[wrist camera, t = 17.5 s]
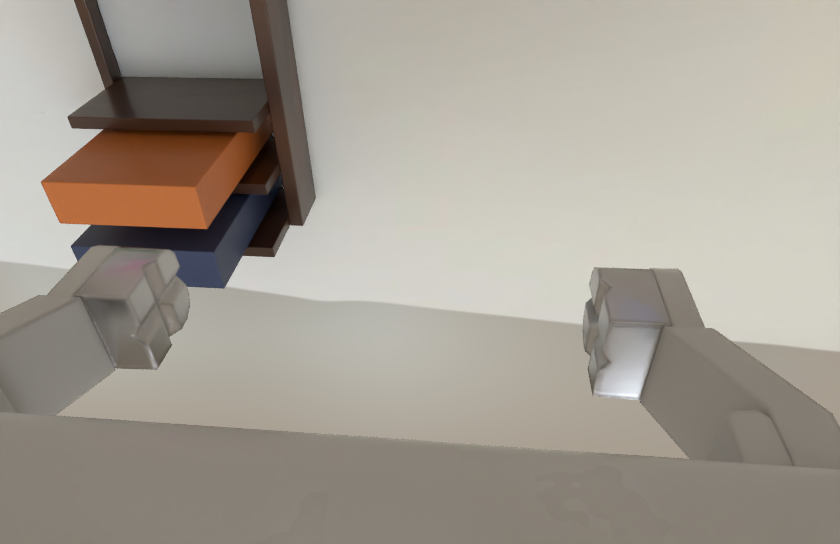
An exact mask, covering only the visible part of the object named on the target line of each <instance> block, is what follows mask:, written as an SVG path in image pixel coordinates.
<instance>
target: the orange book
mask: <svg viewBox="0 0 840 544" xmlns="http://www.w3.org/2000/svg"><path fill="white" fill-rule="evenodd" d="M272 133H273V129H272V124H271V118H270V113H269V114H268V116H267V117H266V118H265V120H264V121H263V122H262V124H261V125H260V127H259V128H258V129H257V131H256V132H255V133H242V132H202V131H161V130H121V129H104V130H103V131H101V132H100V133H99V134H98V135H97V136H95V137H94V138H93V139H92V140H91V141H89V142H88V143H87V144H86V145H85V146H83V147H82V148H81V149H80V150H79V151H77V152H76V153H75V154H74V155H73V156H71V157H70V158H69V159H68V160H67V161H65V162H64V163H63V164H62V165H61V166H59V167H58V168H57V169H56V170H54V171H53V172H52V173H51V174H50V175H48V176H47V177H46V178H45V179H44V180H42V181H41V184H42V186H43V188H44V190H45V192H46V194H47V196H48V199H49V201H50V203H51V205H52V207H53V209H54V211H55V214H56V216H57V218H58V220H59V222H60V223H65V224H90V225H115V226H140V227H165V228H190V229H208V227H209V226H210V224H211V223H212V221H213V220H214V218H215V217H216V215H217V214H218V212H219V211H220V209H221V208H222V206H223V205H224V203H225V202H226V201H227V199H228V198H229V196H230V195H231V193H232V192H233V190H234V189H235V187H236V186H237V184H238V183H239V181H240V180H241V178H242V177H243V175H244V174H245V173H246V171H247V170H248V168H249V167H250V165H251V164H252V162H253V161H254V159H255V158H256V156H257V155H258V153H259V152H260V150H261V149H262V147H263V146H264V145H265V143H266V142H267V140H268V139H269V137H270V136H271V134H272Z"/></svg>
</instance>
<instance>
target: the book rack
mask: <svg viewBox="0 0 840 544" xmlns="http://www.w3.org/2000/svg"><path fill="white" fill-rule="evenodd" d="M74 2H75V4H76V7H77V10H78V13H79V16H80V19H81V21H82V24H83V27H84V30H85V33H86V36H87V38H88V41H89V44H90V47H91V50H92V53H93V55H94V58H95V61H96V64H97V67H98V70H99V72H100V75H101V78H102V81H103V84H104V87H105V90H103V91H102V92H101V93H99V94H98V95H97V96H95V97H94V98H92V99H91V100H90V101H88V102H87V103H86V104H84V105H83V106H81V107H80V108H79V109H77V110H76V111H75V112H73V113H72V114H71V115H69V116H68V120H69V122H70V125H71V127H72V128H80V129H121V130H161V131H202V132H242V133H255V132H256V131H257V129H258V128H259V127H260V125H261V124H262V122H263V121H264V120H265V118H266V117H267V116H268V114H269V113H270V116H271V122H272V127H273V132H274V138H273V137H269V139H268V140H267V142H266V143H265V145H264V146H263V147H262V149H261V150H260V152H259V153H258V155H257V156H256V158H255V159H254V161H253V162H252V164H251V165H250V167H249V168H248V170H247V171H246V173H245V174H244V175H243V177H242V178H241V180H240V181H239V183H238V184H237V186H236V187H235V189H234V190H233V192H232V194H261V195H268V193H269V191H270V190H271V188H272V186H273V185H274V183H275V181H276V179H277V178H278V176H279V174H280V173H281V176H282V181H283V187H284V189H280V190H279V191H278V193H277V195H276V197H275V198H274V200H273V202H272V204H271V206H270V207H269V209H268V211H267V213H266V215H265V216H264V218H263V220H262V222H261V223H260V225H259V227H258V229H257V231H256V232H255V234H254V236H253V238H252V240H251V241H250V243H249V245H248V247H247V248H246V250H245V252H244V254H243V256H263V257H275V255H276V253H277V251H278V249H279V247H280V245H281V242H282V240H283V238H284V236H285V234H286V232H287V230H288V228H289V226H290V225H297V226H303V225H304V223H305V220H306V218H307V216H308V214H309V212H310V209H311V207H312V205H313V203H314V201H315V191H314V184H313V177H312V170H311V164H310V157H309V150H308V143H307V137H306V130H305V123H304V116H303V110H302V103H301V96H300V89H299V82H298V76H297V69H296V62H295V55H294V49H293V42H292V35H291V28H290V22H289V15H288V8H287V1H286V0H249V2H250V7H251V13H252V18H253V23H254V29H255V34H256V40H257V45H258V51H259V56H260V62H261V67H262V72H263V78H264V79H210V78H149V77H121V75H120V72H119V69H118V66H117V63H116V60H115V57H114V54H113V51H112V48H111V45H110V42H109V39H108V36H107V33H106V30H105V27H104V24H103V21H102V18H101V15H100V12H99V9H98V6H97V3H96V0H74Z"/></svg>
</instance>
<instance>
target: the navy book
mask: <svg viewBox="0 0 840 544" xmlns="http://www.w3.org/2000/svg"><path fill="white" fill-rule="evenodd" d="M281 186H282V178H281V173H280V174H279V176H278V178H277V179H276V181H275V183H274V185H273V186H272V188H271V190H270V191H269V193H268V195H261V194H232V193H231V195H230V196H229V198H228V199H227V201H226V202H225V203H224V205H223V206H222V208H221V209H220V211H219V212H218V214H217V215H216V217H215V218H214V220H213V221H212V223H211V224H210V226H209V227H208V229H190V228H165V227H140V226H115V225H91V226H90V227H89V228H88V229H87V230H86V231H85V232H84V233H83V234H82V235H81V236H80V237H79V238H78V239H77V240H76V241H75V242H74V243H73V244H72V245H71V248H72V250H73V252H74V254H75V257H76V259H77V261H79V260H80V258H81V257H82V256H83V255H84V254H85V253H86V252H87V251H88V250H89V249H90V248H91V247H94V246H98V245H104V246H119V247H122V246H126V247H141V248H157V249H169V250H170V251H172V252H174V253H175V255H176V258H177V260H178V263H179V265H180V267H179V269H178V271H177V273H176V276H177V277H178V278H180V279H181V280H182V281H183V282H184V283H185V284H186V286H187V287H205V288H225V286H226V284H227V282H228V281H229V279H230V277H231V275H232V273H233V272H234V270H235V268H236V266H237V265H238V263H239V261H240V259H241V257H242V256H243V254H244V252H245V250H246V248H247V247H248V245H249V243H250V241H251V240H252V238H253V236H254V234H255V232H256V231H257V229H258V227H259V225H260V223H261V222H262V220H263V218H264V216H265V215H266V213H267V211H268V209H269V207H270V206H271V204H272V202H273V200H274V198H275V197H276V195H277V193H278V191H279V190H280V188H281Z"/></svg>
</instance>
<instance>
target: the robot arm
mask: <svg viewBox="0 0 840 544" xmlns="http://www.w3.org/2000/svg"><path fill="white" fill-rule="evenodd" d="M179 267H180V265H179V263H178V260H177V258H176V255H175V253H174V252H172V251H170V250H169V249H157V248H141V247H126V246H122V247H119V246H104V245H98V246H94V247H91V248H90V249H89V250H88V251H87V252H86V253H85V254H84V255H83V256H82V257H81V258H80V260H79V261H78V262H77V263H76V264H75V265H74V266H73V267H72V268H71V269H70V270H69V272H67V274H66V275H65V276H64V277H63V278H62V279H61V280H60V281H59V282H58V283H57V284H56V286H55V287H54V288H53V289H52V290H51V291H50V292H49V293H48V294H47V295H38V296H36V297H34V298H32V299H29V300H27V301H25V302H23V303H21V304H19V305H17V306H14V307H12V308H10V309H8V310H6V311H4V312H2V313H0V544H840V427H839V425H838V423H837V421H836V419H835V418H834V416H833V414H832V413H831V412H829V411H828V410H826V409H825V408H824V407H822V406H821V405H820V404H818V403H817V402H815V401H814V400H813V399H811V398H810V397H808V396H807V395H805V394H804V393H803V392H801V391H800V390H799V389H797V388H796V387H794V386H793V385H791V384H790V383H789V382H787V381H786V380H785V379H783V378H782V377H780V376H779V375H778V374H776V373H774V372H773V371H772V370H771V369H769V368H768V367H767V366H765V365H764V364H762V363H761V362H759V361H758V360H757V359H755V358H754V357H752V356H751V355H750V354H748V353H747V352H745V351H744V350H742V349H741V348H740V347H738V346H737V345H736V344H734V343H733V342H732V341H730V340H729V339H727V338H726V337H725V336H723V335H722V334H720V333H719V332H718V331H716V330H715V329H711V328H705V326H704V324H703V321H702V319H701V317H700V314H699V312H698V309H697V307H696V305H695V302H694V300H693V297H692V295H691V293H690V290H689V288H688V285H687V283H686V281H685V278H684V276H683V273H682V272H681V271H680V270H679V269H656V268H650V269H627V268H600V267H594V269H593V272H592V275H591V280H590V284H589V285H590V290H591V295H592V298H591V299H590V300H589V301H587V302H586V305H585V311H584V318H583V340H584V341H583V342H584V348H585V352H587V353H588V354H589V355H590V361H589V366H588V372H589V377H590V383H591V389H592V395H593V396H599V397H611V398H623V399H633V400H640V403H641V404H642V405H643V406H644V407H645V408H646V409H647V411H648V412H649V413H650V414H651V415H652V416H653V418H654V419H655V420H656V421H657V422H658V423H659V424H660V426H661V427H662V428H663V429H664V430H665V431H666V432H667V434H668V435H669V436H670V437H671V438H672V439H673V440H674V441H675V443H676V444H677V445H678V446H679V447H680V448H681V449H682V451H683V452H684V453H685V454H686V455H687V456H688V457H689V459H682V458H668V457H653V456H639V455H624V454H608V453H594V452H578V451H563V450H547V449H532V448H517V447H504V446H489V445H476V444H475V445H474V444H460V443H447V442H432V441H418V440H405V439H391V438H377V437H362V436H347V435H333V434H318V433H303V432H288V431H273V430H258V429H244V428H228V427H214V426H200V425H199V426H198V425H185V424H171V423H155V422H141V421H127V420H112V419H97V418H83V417H68V416H55V415H57V414H58V413H59V412H61V411H62V410H63V409H65V408H66V407H67V406H69V405H70V404H71V403H73V402H74V401H75V400H77V399H78V398H79V397H81V396H82V395H83V394H85V393H86V392H87V391H89V390H90V389H91V388H93V387H94V386H95V385H97V384H98V383H99V382H101V381H102V380H103V379H105V378H106V377H107V376H109V375H110V374H111V373H113V372H114V371H115V368H122V369H154V370H157V369H158V367H159V366H160V364H161V362H162V361H163V359H164V357H165V356H166V354H167V352H168V351H169V349H170V348H171V346H172V344H171V341H170V338H169V337H170V336H171V335H173V334H174V333H176V332H178V331H179V330H181V329H182V327H183V325H184V324H185V322H186V320H187V318H188V312H189V308H190V299H189V292H188V289H187V286H186V284H185V283H184V282H183V281H182V280H181V279H180V278H178V277H177V276H176V273H177V271H178V269H179Z"/></svg>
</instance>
